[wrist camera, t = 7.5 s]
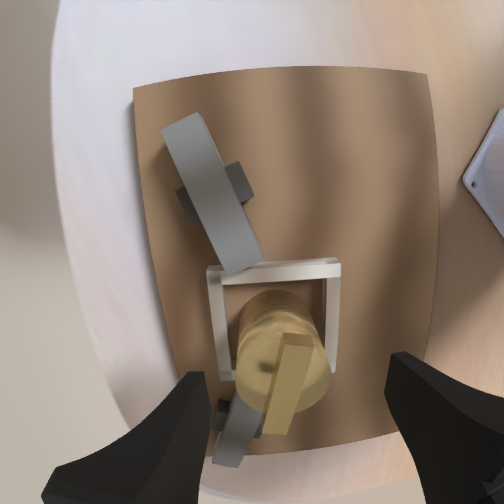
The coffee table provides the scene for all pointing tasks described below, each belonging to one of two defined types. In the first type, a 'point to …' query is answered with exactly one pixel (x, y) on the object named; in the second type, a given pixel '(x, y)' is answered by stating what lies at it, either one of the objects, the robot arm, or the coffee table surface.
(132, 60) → the coffee table surface
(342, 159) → the tan wooden flat board
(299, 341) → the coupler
